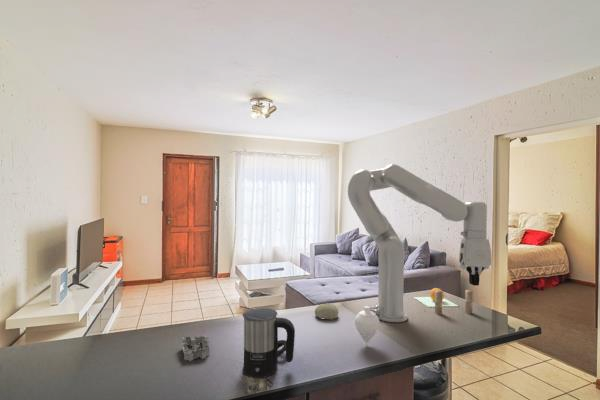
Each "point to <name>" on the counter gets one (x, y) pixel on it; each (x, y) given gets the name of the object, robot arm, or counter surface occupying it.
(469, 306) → the right post
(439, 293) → the left post
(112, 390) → the counter surface
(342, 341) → the counter surface
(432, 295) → the ball
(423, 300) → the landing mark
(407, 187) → the robot arm
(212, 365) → the counter surface
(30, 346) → the counter surface
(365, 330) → the spinning top
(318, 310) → the sea urchin shell
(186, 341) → the egg carton
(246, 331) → the milk frother
